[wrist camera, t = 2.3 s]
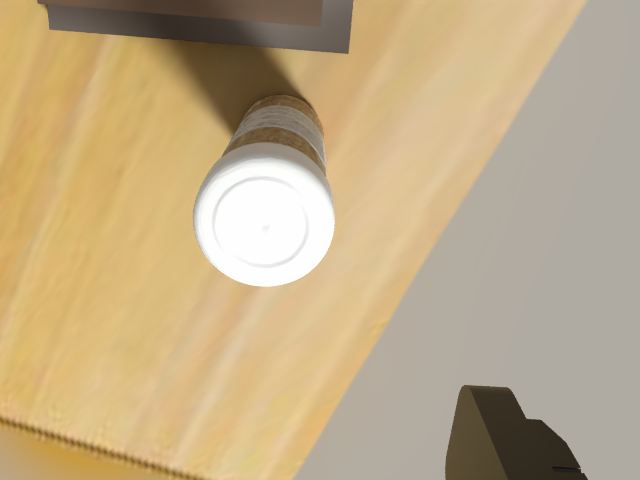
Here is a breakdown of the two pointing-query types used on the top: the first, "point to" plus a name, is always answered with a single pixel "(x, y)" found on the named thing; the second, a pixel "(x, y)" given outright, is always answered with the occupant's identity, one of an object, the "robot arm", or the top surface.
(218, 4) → the wooden tiered slot stand
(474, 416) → the robot arm
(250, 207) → the sprinkles bottle
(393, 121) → the top surface
